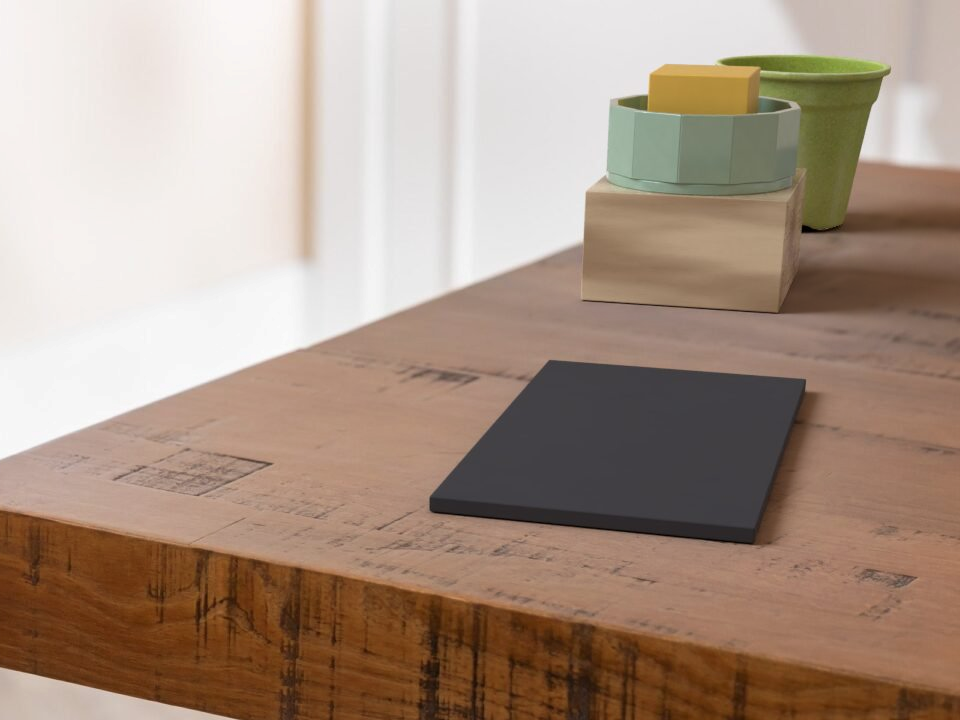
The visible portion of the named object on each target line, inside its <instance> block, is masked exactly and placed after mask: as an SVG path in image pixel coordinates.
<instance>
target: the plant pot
mask: <svg viewBox="0 0 960 720" xmlns="http://www.w3.org/2000/svg"><path fill="white" fill-rule="evenodd" d="M714 65H718V66H752V67H760V68H761V73H760V86H759V96H764V97H771V98H777V99H782V100H787V101H793V102H797V104H798V105H799V106H800V108H801V117H800V129H799V141H798V152H797V164H796V168H807V173H806V184H805V196H804V207H803V219H802V226H806V227H809V228H810V229H812V230H814V229H826V228H829V229H833V227H834V228H837V227H836V226H838V227H840V226H842V225H843V224H844V221H845V218H846V214H847V211H848V206H849V202H850V198H851V193H852V189H853V184H854V179H855V175H856V172H857V168H858V163H859V159H860V155H861V151H862V148H863V143H864V140H865V136H866V130H867V126H868V124H869V123H868V122H869V118H870V115H871V112H872V108H873V105H874V104H875V103H876V102H877V101H878V98H879V95H880V92H881V91H880V90H881V87H882V83H883V80H884V77H887V76H889V75H890V74H891V71H892V66H891V64H887V63H885V62H882V61H876V60H870V59H863V58H855V57H848V56H838V55H837V56H835V55H818V54H817V55H816V54H753V55H737V56H730V57H723V58H719V59H717V60H716V61H715V64H714ZM841 224H842V225H841ZM839 225H840V226H839Z"/></svg>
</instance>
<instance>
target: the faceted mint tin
mask: <svg viewBox="0 0 960 720" xmlns="http://www.w3.org/2000/svg"><path fill="white" fill-rule="evenodd" d="M608 107H609V108H608V125H607V127H608V129H607V147H606V148H607V150H606V173H605V175H606V178H607V180H608V181H609V182H610V183H612V184H615V185H618V186H621V187H625V188H629V189H634V190H640V191H647V192H655V193H666V194H679V195H706V196H724V195H748V194H760V193H768V192H774V191H778V190H783V189H785V188H788V187H790V186H791V185H792V184H793V176H794V175H795V174H796V164H797V152H798V141H799V129H800V117H801V108H800V106H799V105H798V104H797V102H793V101H787V100H782V99H777V98H771V97H764V96H759V99H758V112H757V113H752V114H735V115H723V114H679V113H667V112H656V111H647V108H648V93H644V94H643V93H642V94H632V95H626V96H621V97H615V98H610V99H609V106H608Z"/></svg>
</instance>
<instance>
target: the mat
mask: <svg viewBox="0 0 960 720" xmlns="http://www.w3.org/2000/svg"><path fill="white" fill-rule="evenodd" d="M806 386H807V379H806V378H797V377H784V376H782V377H781V376H772V375H771V376H770V375H759V374H758V375H757V374H744V373H732V372H731V373H729V372H719V371H718V372H717V371H703V370H690V369H679V368H678V369H676V368H666V367H665V368H664V367H651V366H638V365H625V364H610V363H600V362H599V363H597V362H586V361H585V362H582V361H571V360H559V359H548V360H547V362H545V364H544V365H543V366H542V367H541V368H540V370H538V372H537V373H536V374H535V376H533V378H532V379H531V380H530V381H529V382H528V383H527V385H525V387H524V388H523V389H522V390H521V391H520V393H518V395H517V396H516V397H515V398H514V399H513V401H511V403H510V404H509V405H508V406H507V407H506V409H504V411H503V412H502V413H501V414H500V415H499V416H498V417H497V418H496V420H495V422H493V423H492V424H491V426H490V427H489V428H488V429H487V430H486V432H485V433H484V434H483V435H482V436H481V437H480V438H479V439H478V441H477V442H476V443H475V444H474V445H473V446H472V448H471V449H469V451H468V452H467V453H466V455H464V457H463V458H462V459H461V460H460V461H459V462H458V464H457V465H456V466H455V467H454V468H453V469H452V470H451V472H450V473H449V474H448V475H447V476H446V477H445V478H444V479H443V480H442V482H441V483H440V484H439V485H438V486H437V488H436V489H435V490H434V491H433V492H432V493H431V495H430V496H429V504H428V510H429V512H433V513H434V512H435V513H445V514H454V515H455V514H456V515H464V516H474V517H475V516H476V517H484V518H496V519H503V520H504V519H505V520H515V521H524V522H534V523H546V524H554V525H555V524H556V525H564V526H576V527H586V528H593V529H594V528H596V529H605V530H613V531H614V530H616V531H624V532H625V531H627V532H635V533H645V534H656V535H664V536H665V535H667V536H674V537H675V536H676V537H685V538H694V539H695V538H696V539H703V540H704V539H706V540H714V541H726V542H736V543H744V544H745V543H746V544H754V543H755V541H756V537H757V534H758V532H759V528H760V525H761V523H762V519H763V517H764V514H765V511H766V508H767V505H768V502H769V499H770V496H771V493H772V491H773V487H774V484H775V481H776V478H777V475H778V472H779V469H780V467H781V464H782V461H783V457H784V455H785V451H786V448H787V446H788V444H789V440H790V437H791V435H792V431H793V428H794V426H795V422H796V420H797V416H798V413H799V411H800V407H801V405H802V401H803V398H804V396H805V392H806Z"/></svg>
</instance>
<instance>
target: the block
mask: <svg viewBox="0 0 960 720" xmlns="http://www.w3.org/2000/svg"><path fill="white" fill-rule="evenodd" d="M760 73H761V68H760V67H752V66H718V65H715V64H714V65H713V64H681V63H679V64H678V63H665V64H663V65H661V66H659V67H658V68H657V69H655V70H653V71H652V72H650V73H649V76H648V90H647V91H648V92H647V94H648V108H647V111H656V112H667V113H679V114H723V115H735V114H752V113H757V112H758V99H759V86H760Z"/></svg>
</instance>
